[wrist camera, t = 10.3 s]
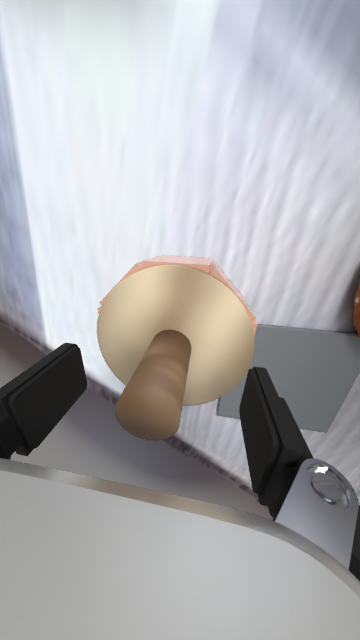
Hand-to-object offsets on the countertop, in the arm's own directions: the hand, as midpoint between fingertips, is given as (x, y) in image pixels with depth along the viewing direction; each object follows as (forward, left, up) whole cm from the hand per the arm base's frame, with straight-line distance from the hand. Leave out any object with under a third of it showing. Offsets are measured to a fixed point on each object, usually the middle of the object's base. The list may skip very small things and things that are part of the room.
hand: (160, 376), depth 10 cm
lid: (0, 0, -4) cm, 4 cm away
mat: (-11, +6, -9) cm, 15 cm away
